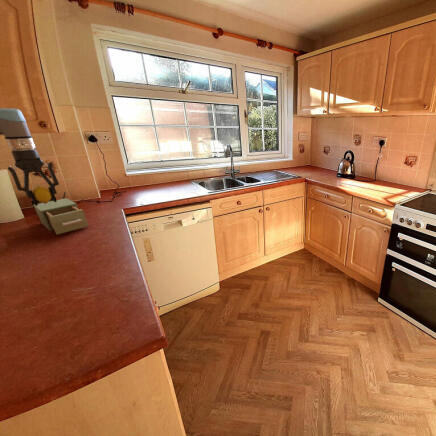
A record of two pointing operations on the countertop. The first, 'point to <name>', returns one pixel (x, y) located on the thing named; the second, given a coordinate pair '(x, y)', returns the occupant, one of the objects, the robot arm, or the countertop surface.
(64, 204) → the cabinet
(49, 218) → the drawer
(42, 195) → the lemon
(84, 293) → the countertop surface
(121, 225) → the countertop surface
